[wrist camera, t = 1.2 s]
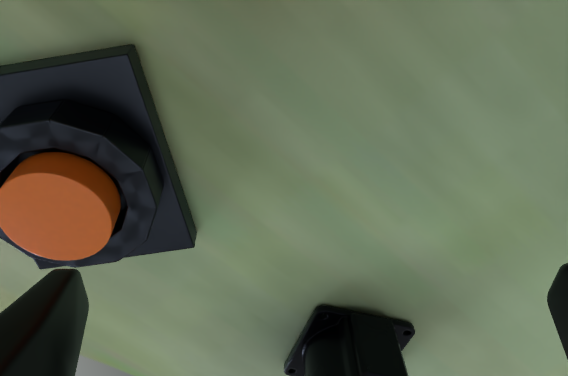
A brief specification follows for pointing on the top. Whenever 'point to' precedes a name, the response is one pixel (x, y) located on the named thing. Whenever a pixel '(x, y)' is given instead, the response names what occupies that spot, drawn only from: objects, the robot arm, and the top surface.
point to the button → (59, 206)
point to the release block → (98, 143)
